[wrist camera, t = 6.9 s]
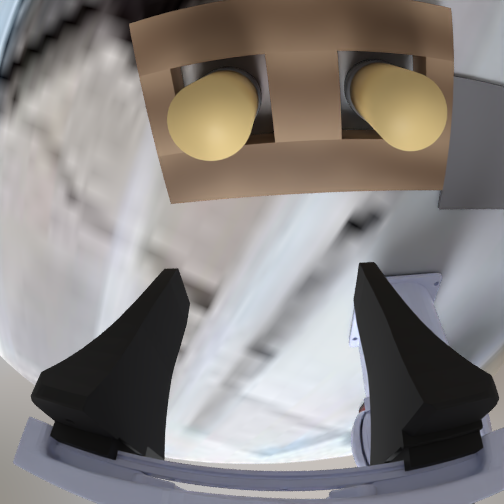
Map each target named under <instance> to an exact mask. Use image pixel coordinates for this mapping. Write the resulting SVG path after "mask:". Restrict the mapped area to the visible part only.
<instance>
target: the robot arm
mask: <svg viewBox="0 0 504 504" xmlns="http://www.w3.org/2000/svg"><path fill="white" fill-rule="evenodd" d="M441 281H442V275H441V274H440V273H430V274H417V275H404V276H391V277H385V276H384V274H383V273H382V272H381V270H380V269H379V268H378V266H377V265H376V264H375V263H374V262H367V263H359V268H358V275H357V281H356V288H355V294H354V307H355V308H354V314H353V321H352V327H351V332H350V338H349V346H350V347H359V352H360V359H361V365H362V372H363V380H364V387H365V393H366V396H367V397H366V398H364V405H365V411H362V412H360V413H359V414H358V415H357V417H356V419H355V422H354V425H353V428H352V433H351V447H352V453H353V457H354V460H355V462H356V465H357V467H355V468H345V469H333V470H317V471H251V470H236V469H223V468H212V467H204V466H195V465H189V464H182V463H176V462H170V461H164V452H165V428H166V416H167V407H168V398H169V392H170V385H171V379H172V374H173V370H174V366H175V363H176V359H177V356H178V352H179V349H180V346H181V342H182V339H183V335H184V332H185V328H186V325H187V319H188V313H189V306H190V302H189V299H188V296H187V293H186V290H185V287H184V284H183V281H182V278H181V275H180V272H179V269H164V270H163V271H162V272H161V273H160V274H159V275H158V277H157V278H156V279H155V280H154V281H153V282H152V283H151V284H150V286H149V287H148V288H147V289H146V290H145V291H144V292H143V293H142V294H141V296H140V297H139V298H138V299H137V300H136V301H135V302H134V303H133V304H132V305H131V306H130V307H129V308H128V309H127V310H126V311H125V312H124V313H123V314H122V316H121V317H120V318H119V319H118V320H116V321H115V322H114V323H113V324H112V325H111V326H110V327H109V328H108V329H106V330H105V331H104V332H103V333H102V334H101V335H99V336H98V337H97V338H96V339H94V340H93V341H92V342H90V343H89V344H88V345H86V346H85V347H84V348H82V349H81V350H79V351H78V352H76V353H75V354H73V355H72V356H70V357H68V358H67V359H65V360H63V361H62V362H60V363H58V364H56V365H54V366H52V367H50V368H49V369H47V370H45V371H43V372H41V374H40V376H39V378H38V381H37V383H36V385H35V388H34V390H33V392H32V394H31V399H32V401H33V403H34V404H35V405H36V406H37V407H39V408H40V409H41V410H42V411H43V412H44V413H46V414H47V415H48V416H49V417H51V418H52V419H53V420H54V421H55V423H54V426H51V425H49V424H47V423H45V422H43V421H40V420H38V419H35V418H32V417H29V419H28V421H27V424H26V426H25V429H24V432H23V434H22V437H21V440H20V443H19V446H18V449H17V452H16V454H15V458H14V461H13V463H14V464H15V465H17V466H19V467H20V468H22V469H24V470H26V471H28V472H30V473H31V474H33V475H35V476H37V477H39V478H41V479H43V480H45V481H47V482H49V483H51V484H53V485H55V486H57V487H59V488H61V489H64V490H66V491H68V492H70V493H73V494H75V495H77V496H80V497H82V498H85V499H87V500H90V501H92V502H95V503H97V504H472V503H475V502H478V501H480V500H483V499H485V498H487V497H490V496H492V495H494V494H497V493H499V492H501V491H503V490H504V428H501V429H498V430H496V431H493V432H492V428H491V422H490V418H489V414H488V413H489V412H490V411H491V410H492V409H493V408H494V407H495V406H496V404H497V402H498V400H499V396H498V393H497V389H496V386H495V383H494V381H493V378H492V376H491V375H490V374H488V373H487V372H485V371H484V370H482V369H480V368H479V367H477V366H475V365H474V364H472V363H471V362H469V361H468V360H466V359H465V358H464V357H462V356H461V355H459V354H458V353H457V352H456V351H454V350H453V349H452V348H451V347H449V344H448V341H447V338H446V335H445V332H444V330H443V327H442V324H441V322H440V319H439V316H438V314H437V311H436V309H435V306H434V304H433V303H434V301H435V298H436V295H437V293H438V290H439V287H440V284H441ZM435 282H436V283H435ZM154 477H155V478H154ZM157 478H160V479H157ZM161 479H165V480H171V481H176V482H182V483H188V484H195V485H202V486H210V487H219V488H228V489H240V490H258V491H314V490H330V489H339V490H333V491H331V492H330V493H329V497H327V498H326V499H282V498H261V497H260V498H259V497H246V496H232V495H222V494H212V493H203V492H194V491H187V490H184V489H182V488H180V487H178V486H176V485H175V484H174V483H172V482H168V481H165V480H161ZM343 488H344V489H343Z"/></svg>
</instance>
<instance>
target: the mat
mask: <svg viewBox="0 0 504 504" xmlns="http://www.w3.org/2000/svg"><path fill="white" fill-rule="evenodd" d="M438 208H439V209H504V87H503V86H499V85H495V84H491V83H486V82H482V81H477V80H472V79H467V78H461V77H456V76H454V83H453V107H452V121H451V132H450V142H449V151H448V159H447V166H446V173H445V179H444V185H443V190H441V192H440V198H439V203H438Z"/></svg>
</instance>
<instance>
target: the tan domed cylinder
mask: <svg viewBox="0 0 504 504" xmlns="http://www.w3.org/2000/svg"><path fill="white" fill-rule="evenodd" d="M260 105H261V90H260V87H259V85H258V83H257V81H256V80H255V79H254V78H253V77H252V76H251V75H250V74H249V73H248V72H246V71H244V70H242V69H239V68H235V67H222V68H218V69H215V70H213V71H211V72H209V73H207V74H206V75H204V76H203V77H202V78H201V79H199V80H197V81H195V82H193V83H192V84H190V85H188V86H186V87H185V88H183V89H182V90H181V91H180V92H179V93H178V94H177V95H176V96H175V97H174V99H173V100H172V102H171V104H170V107H169V110H168V115H167V125H168V130H169V133H170V135H171V138H172V139H173V141H174V143H175V144H176V145H177V146H178V147H179V148H180V149H181V150H182V151H183V152H185V153H186V154H188V155H189V156H191V157H194V158H196V159H199V160H205V161H217V160H222V159H225V158H228V157H230V156H232V155H233V154H235V153H236V152H238V151H239V150H240V149H241V148H242V147H243V146H244V144H245V143H246V142H247V140H248V138H249V135H250V133H251V129H252V126H253V123H254V119H255V118H256V116H257V114H258V112H259V109H260Z"/></svg>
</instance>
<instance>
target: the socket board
mask: <svg viewBox="0 0 504 504" xmlns="http://www.w3.org/2000/svg"><path fill="white" fill-rule="evenodd" d="M129 26H130V32H131V37H132V42H133V48H134V53H135V58H136V63H137V68H138V73H139V77H140V82H141V87H142V91H143V96H144V100H145V104H146V109H147V113H148V117H149V122H150V126H151V130H152V134H153V138H154V142H155V146H156V150H157V154H158V158H159V161H160V165H161V169H162V173H163V177H164V180H165V184H166V188H167V191H168V195H169V198H170V202H171V204H176V203H185V202H195V201H206V200H217V199H229V198H241V197H254V196H269V195H284V194H302V193H322V192H347V191H385V190H443V185H444V179H445V173H446V166H447V159H448V151H449V142H450V132H451V121H452V107H453V83H454V49H453V27H452V13H451V8H447V7H443V6H438V5H434V4H429V3H424V2H418V1H413V0H224V1H218V2H213V3H207V4H202V5H197V6H193V7H188V8H184V9H180V10H176V11H172V12H168V13H164V14H160V15H157V16H153V17H150V18H146V19H143V20H140V21H137V22H134V23H131V24H129ZM337 51H369V52H385V53H397V54H407V55H413V71H414V72H417V73H420V74H422V75H425V76H426V77H428V78H430V79H431V80H432V81H434V82H435V83H436V85H437V86H438V87H439V88H440V90H441V91H442V93H443V95H444V98H445V101H446V104H447V120H446V125H445V127H444V130H443V132H442V134H441V135H440V137H439V138H438V139H437V140H436V141H435V142H434V143H433V144H431V145H430V146H428V147H426V148H424V149H421V150H418V151H404V150H400V149H397V148H395V147H393V146H391V145H390V144H388V143H387V142H386V141H385V140H384V139H383V138H382V137H381V136H380V135H379V134H378V133H377V132H376V131H375V130H341V102H340V83H339V67H338V54H337ZM257 54H265V59H266V67H267V75H268V83H269V91H270V100H271V108H272V117H273V126H274V133H266V134H255V135H249V138H248V140H247V142H246V143H245V144H244V146H243V147H242V148H241V149H240V150H239V151H238V152H236V153H235V154H233V155H232V156H230V157H228V158H225V159H222V160H217V161H205V160H199V159H196V158H194V157H191V156H189V155H188V154H186V153H185V152H183V151H182V150H181V149H180V148H179V147H178V146H177V145H176V144H175V143H174V141H173V139H172V138H171V135H170V133H169V130H168V125H167V115H168V110H169V107H170V104H171V102H172V100H173V99H174V97H175V96H176V95H177V94H178V93H179V92H180V91H181V90H182V89H183V88H184V83H183V78H182V72H181V66H185V65H190V64H196V63H201V62H207V61H212V60H219V59H225V58H232V57H240V56H248V55H257Z"/></svg>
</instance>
